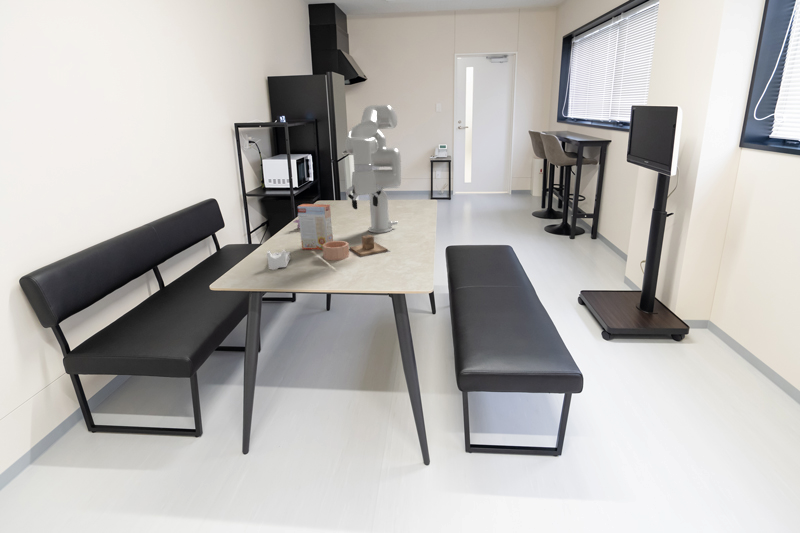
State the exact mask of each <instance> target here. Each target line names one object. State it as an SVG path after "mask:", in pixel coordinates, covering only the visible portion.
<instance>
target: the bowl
mask: <svg viewBox="0 0 800 533" xmlns="http://www.w3.org/2000/svg"><path fill="white" fill-rule="evenodd" d="M349 249H350V246H349V242H347V241H344V240H333V241H332V242H327V243H325V244H323V250H322V253H323V254H322V255H323V259H325V260H326V261H340V260H341V261H342V260H345V259H347V258H349V257H350V251H349Z"/></svg>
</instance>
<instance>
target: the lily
mask: <svg viewBox="0 0 800 533" xmlns="http://www.w3.org/2000/svg"><path fill="white" fill-rule="evenodd" d="M297 218H298V219H295V220H293V221H292V223H296V224H297V226H296V227H297V229H300V225H299V216H298V215H297Z"/></svg>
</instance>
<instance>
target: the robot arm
mask: <svg viewBox="0 0 800 533" xmlns="http://www.w3.org/2000/svg"><path fill="white" fill-rule="evenodd" d="M397 125H398V115H397V113H396V111H395V109H394V108H393V107H392V106H391V105H389V104H379V105H378V104H376V105H368V106H366V107H365V108H364V110H363V112H362V117H361V120H360V122H359V123H358V124H356V125H355V126H353V127H352V128H350V130H349V131H348V132H347V134H346V138H345V145H344V146H345V151H346V153H347V154H348V155H351V156H353V171H352V174H351V186H350V187H348V188H347V189H346V190H345V191H344V192H345V194H346V196H347V197H348V198H349V199H350V200H351V206H352V209H353V210H358V200H357V198H358V196H365V195H366V196H367V195H369V213H370V226H369V228H368V231H369V232H370V233H374V234H377V233H378V234H382V233H388V232H392V230H393V226H395V225H396V226H397V225H398V220H394V221H393V220H390V218H389V216H390V215H389V212H390V210H389V197H388V195H387V193H386V192H385V190H386V189H397V188H400V186H401V182H402V164H401V162H402V160H401V157H402V156H401V151H400V150H399V149H398V148H396V147H395V148H394V147H387V139H386V137H385V135H384V134H383V132H382V131H381V130H391V129H395V128H396V127H397ZM373 168H391V169H373ZM351 193H352V194H351Z"/></svg>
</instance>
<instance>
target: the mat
mask: <svg viewBox="0 0 800 533" xmlns="http://www.w3.org/2000/svg"><path fill="white" fill-rule="evenodd" d="M349 252H351V253H352V254H354V255H355V256H357V257H359V258H365V257H369V256H375V255H379V254H383V253H384V254H386V253H390V252H391V250H389V249H388V251H386V252H381V253H376V254H371V255H366V256H360V255H358V254H357V253H355V252H354V251H352V250H350V248H349Z"/></svg>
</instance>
